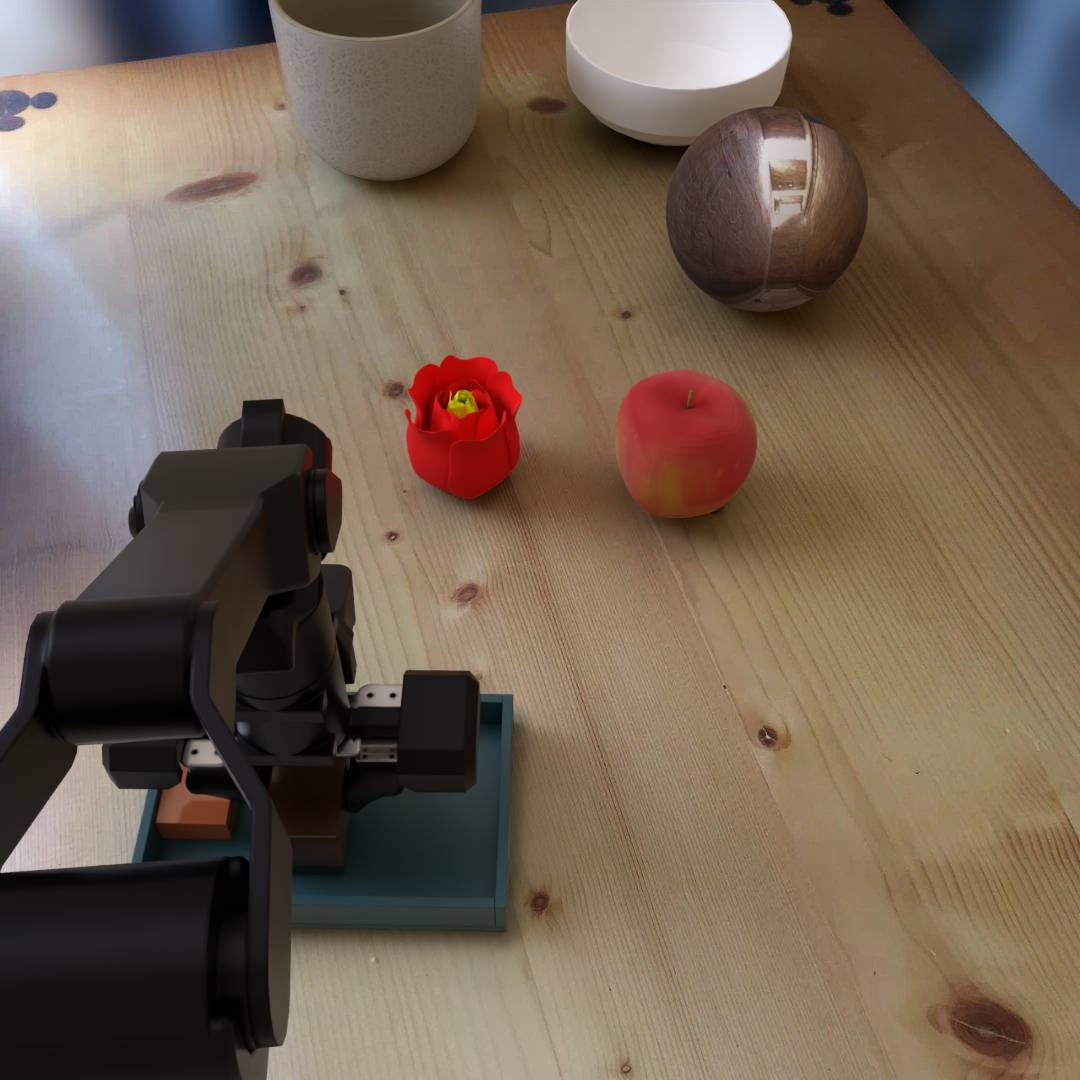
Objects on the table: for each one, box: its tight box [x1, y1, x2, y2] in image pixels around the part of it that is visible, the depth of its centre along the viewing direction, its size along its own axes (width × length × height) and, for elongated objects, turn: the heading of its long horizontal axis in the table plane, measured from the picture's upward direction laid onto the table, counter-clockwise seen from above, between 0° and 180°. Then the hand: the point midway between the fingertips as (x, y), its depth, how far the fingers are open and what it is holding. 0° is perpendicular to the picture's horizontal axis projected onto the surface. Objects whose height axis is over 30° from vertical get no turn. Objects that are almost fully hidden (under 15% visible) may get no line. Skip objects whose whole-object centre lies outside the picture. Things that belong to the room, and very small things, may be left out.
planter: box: [267, 0, 483, 182], centre depth 110 cm, size 17×17×15 cm
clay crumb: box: [155, 763, 239, 840], centre depth 74 cm, size 4×4×2 cm
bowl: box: [565, 0, 793, 147], centre depth 116 cm, size 20×20×8 cm
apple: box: [613, 369, 758, 519], centre depth 86 cm, size 10×10×10 cm
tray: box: [130, 691, 515, 932], centre depth 74 cm, size 20×13×3 cm, turn 89°
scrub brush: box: [268, 757, 351, 874], centre depth 72 cm, size 4×8×5 cm, turn 179°
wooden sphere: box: [665, 105, 869, 313], centre depth 98 cm, size 15×15×15 cm
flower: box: [404, 354, 523, 500], centre depth 88 cm, size 8×8×8 cm
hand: (318, 804), depth 74 cm, fingers closed on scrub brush, 4 cm apart
